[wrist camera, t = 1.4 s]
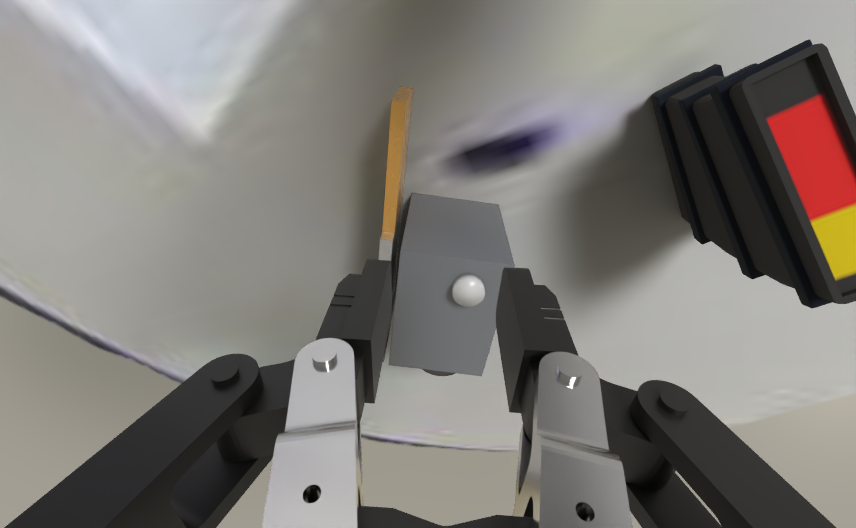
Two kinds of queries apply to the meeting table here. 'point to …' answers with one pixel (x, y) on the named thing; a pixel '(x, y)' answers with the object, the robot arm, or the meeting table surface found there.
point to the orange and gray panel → (395, 182)
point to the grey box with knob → (448, 285)
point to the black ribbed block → (769, 168)
